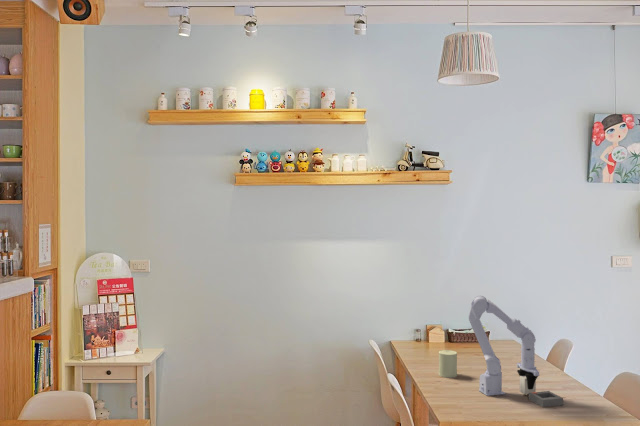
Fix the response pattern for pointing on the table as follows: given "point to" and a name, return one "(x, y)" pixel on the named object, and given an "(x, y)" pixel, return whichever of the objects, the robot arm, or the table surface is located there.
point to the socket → (545, 398)
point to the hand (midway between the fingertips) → (527, 387)
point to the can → (447, 363)
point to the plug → (526, 386)
